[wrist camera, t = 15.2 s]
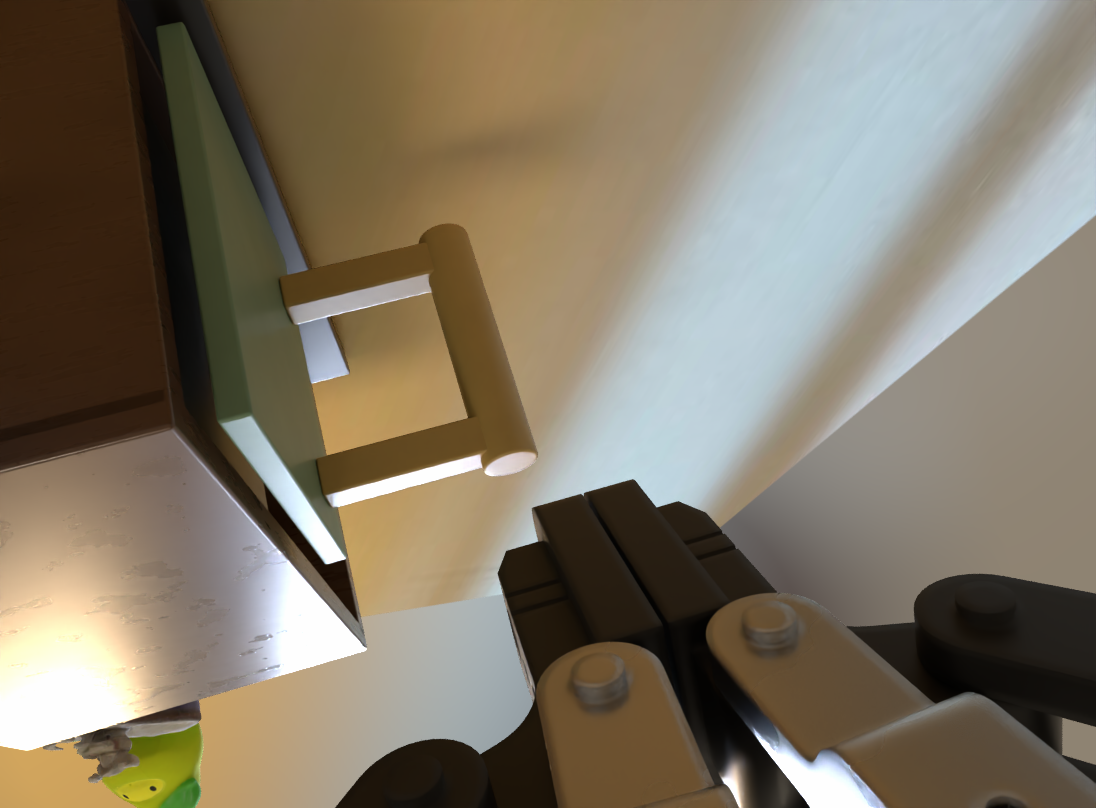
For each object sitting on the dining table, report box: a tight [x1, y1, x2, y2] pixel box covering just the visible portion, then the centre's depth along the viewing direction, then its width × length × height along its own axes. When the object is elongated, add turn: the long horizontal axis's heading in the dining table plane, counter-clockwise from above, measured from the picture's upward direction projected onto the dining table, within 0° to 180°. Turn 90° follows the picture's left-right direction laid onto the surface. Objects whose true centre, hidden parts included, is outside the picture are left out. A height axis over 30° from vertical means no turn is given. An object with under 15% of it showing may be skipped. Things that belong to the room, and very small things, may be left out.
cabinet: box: [0, 0, 367, 750], centre depth 24 cm, size 12×18×11 cm
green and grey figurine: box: [73, 723, 203, 808], centre depth 50 cm, size 11×9×11 cm
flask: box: [42, 700, 201, 783], centre depth 40 cm, size 9×3×11 cm, turn 24°
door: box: [156, 22, 538, 564], centre depth 21 cm, size 6×9×10 cm
